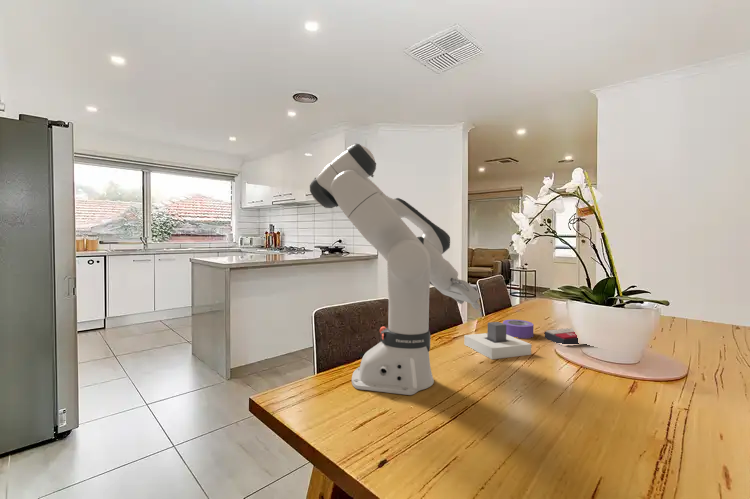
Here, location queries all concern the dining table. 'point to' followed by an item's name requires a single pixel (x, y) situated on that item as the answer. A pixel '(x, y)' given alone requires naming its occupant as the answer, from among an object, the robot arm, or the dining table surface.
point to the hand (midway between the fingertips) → (469, 305)
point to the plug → (496, 332)
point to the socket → (497, 346)
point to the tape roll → (519, 328)
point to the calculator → (562, 336)
